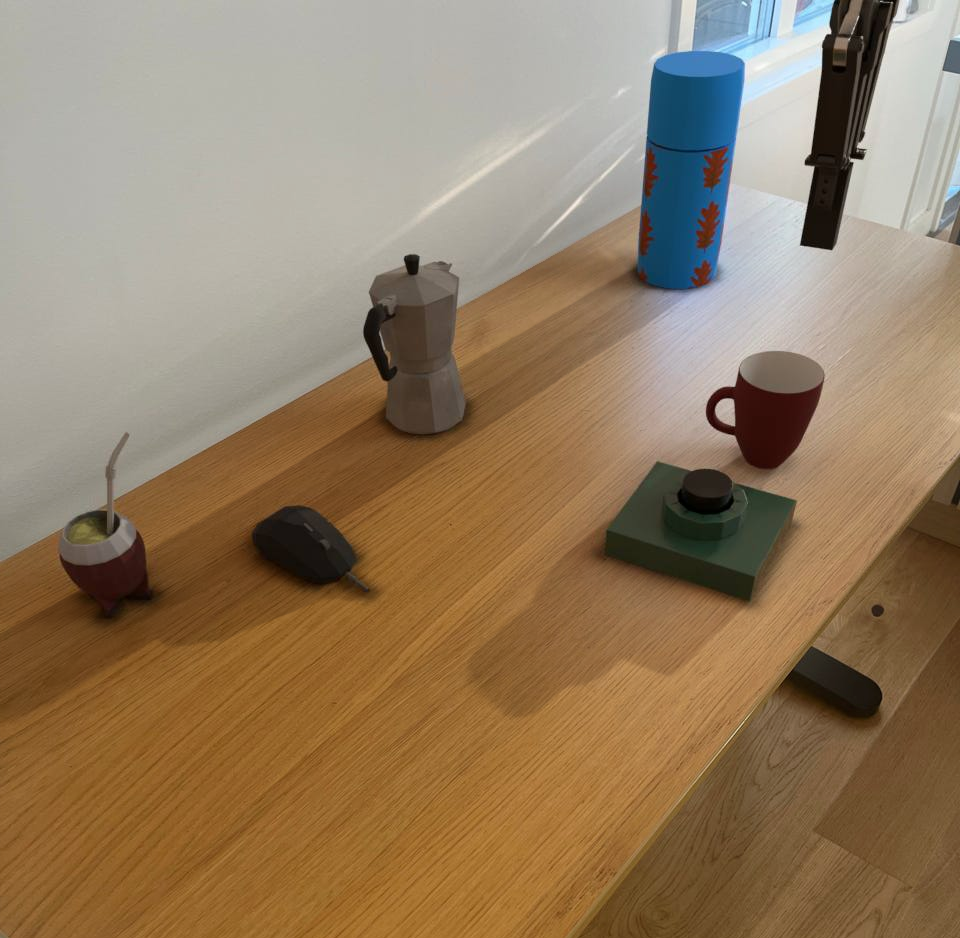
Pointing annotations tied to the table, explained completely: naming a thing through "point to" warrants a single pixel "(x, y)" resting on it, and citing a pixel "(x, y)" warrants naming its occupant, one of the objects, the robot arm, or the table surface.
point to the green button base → (700, 533)
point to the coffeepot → (417, 345)
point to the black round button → (706, 491)
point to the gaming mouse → (306, 545)
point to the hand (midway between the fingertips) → (818, 244)
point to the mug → (770, 405)
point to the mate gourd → (106, 551)
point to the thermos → (688, 166)
